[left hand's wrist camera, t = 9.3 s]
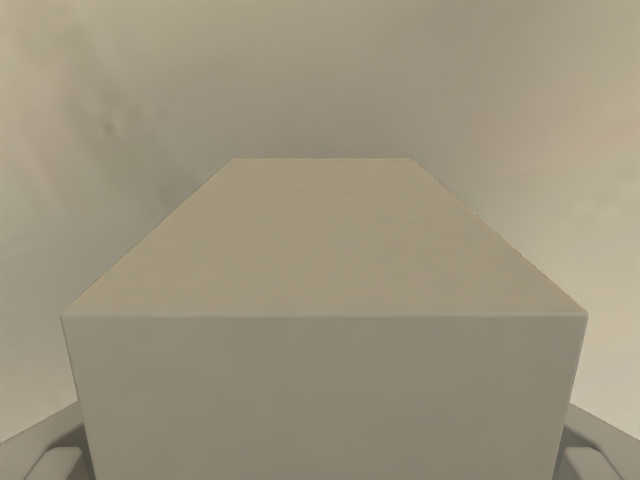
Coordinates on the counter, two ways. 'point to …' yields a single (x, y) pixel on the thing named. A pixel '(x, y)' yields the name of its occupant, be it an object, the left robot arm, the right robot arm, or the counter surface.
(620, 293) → the counter surface
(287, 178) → the bar
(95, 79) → the counter surface
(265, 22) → the counter surface
